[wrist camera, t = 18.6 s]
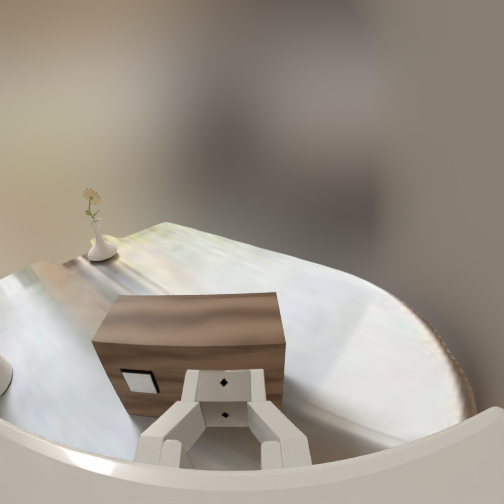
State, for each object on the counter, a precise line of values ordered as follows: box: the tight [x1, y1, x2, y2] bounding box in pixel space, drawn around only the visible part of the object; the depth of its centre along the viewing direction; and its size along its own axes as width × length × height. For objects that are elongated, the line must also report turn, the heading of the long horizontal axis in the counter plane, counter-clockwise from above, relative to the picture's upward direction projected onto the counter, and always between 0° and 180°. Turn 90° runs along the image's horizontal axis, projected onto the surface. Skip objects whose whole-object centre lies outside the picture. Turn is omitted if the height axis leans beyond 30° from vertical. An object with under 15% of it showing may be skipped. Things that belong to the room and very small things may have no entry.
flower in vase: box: [83, 188, 117, 261], centre depth 89 cm, size 13×11×25 cm
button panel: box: [92, 292, 286, 417], centre depth 39 cm, size 11×24×16 cm, turn 92°
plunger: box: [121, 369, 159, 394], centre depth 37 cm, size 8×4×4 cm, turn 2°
